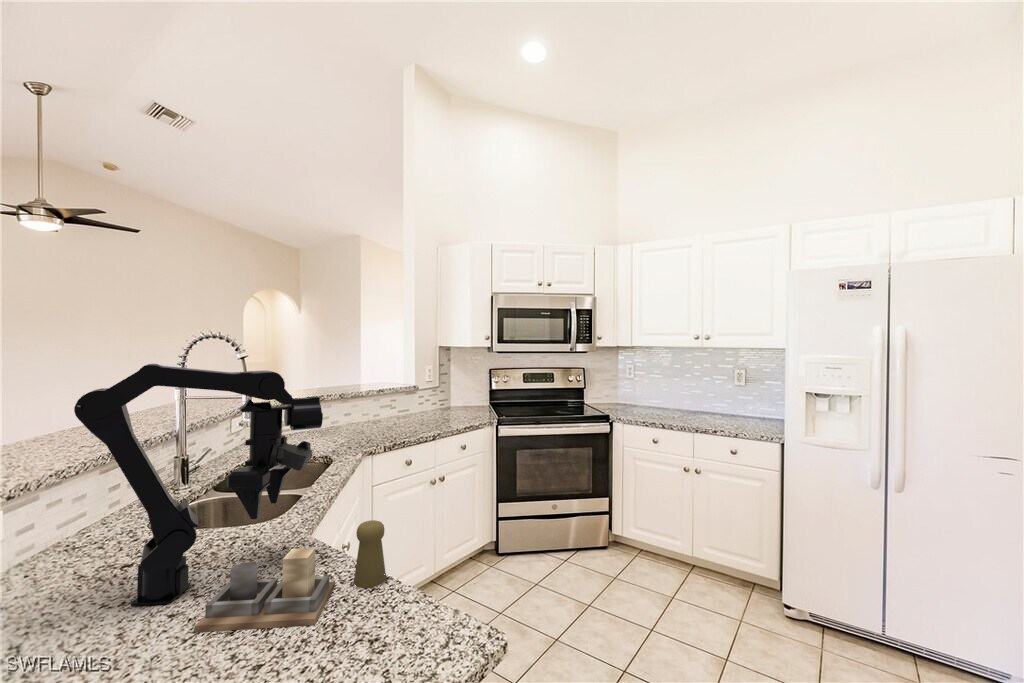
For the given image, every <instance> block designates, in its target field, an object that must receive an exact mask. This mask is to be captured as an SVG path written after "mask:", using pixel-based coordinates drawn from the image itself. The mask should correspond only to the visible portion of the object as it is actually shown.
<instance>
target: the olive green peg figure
mask: <svg viewBox="0 0 1024 683" xmlns="http://www.w3.org/2000/svg"><path fill="white" fill-rule="evenodd" d="M384 536H385V525H384V523H382V521H381V520H367V521H364V522H361V523H360V524H359V525H358V527H357V528H356V539H357V540H358V541H359V542H358V543H359V544H358V551H357V557H356V564H355V571H354V577H353V584H355V585H356V586H355V585H354V586H355V587H357V588H360V589H369V588H374V587H378V586H380V585H382V584H384V582H385V581H386V580H387V574H386V564H385V556H384V549H383V541H382V539H383V538H384ZM382 573H383V574H382ZM384 574H385V575H384Z"/></svg>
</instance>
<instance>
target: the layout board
mask: <svg viewBox="0 0 1024 683" xmlns="http://www.w3.org/2000/svg"><path fill="white" fill-rule="evenodd" d="M229 574H230V576H229V577H230V578H229V581H228V583H227V584H225V586H224V587H223V588H221V590H219V591H218V592H217V594H216V595H214V596H213V598H211V600H210V601H209V602H208V603H207V604H205V611H204V612H205V613H204V616H203V617H202V618H201V619H200V620H199V621H198V622H197V623H196V624H195V625H194V633H207V632H221V631H222V632H223V631H224V632H225V631H239V630H253V629H256V630H257V629H269V628H286V627H288V628H289V627H302V626H303V627H304V626H315V625H316V623H317V621H318V620H319V618H320V616H321V614H322V612H323V610H324V608H325V606H326V605H327V602H328V601H329V599H330V597H331V596H332V593H333V592H332V591H334V590H333V589H335V588H336V581H330V575H324V576H322V575H321V576H315V591H314V593H313V595H312V596H311V597H296V598H282V585H283V579H282V580H281V581H280V582H279V583H278V578H265V579H264V578H263V579H262V578H261V579H259V578H258V563H257V562H252V561H250V562H249V561H247V562H243V563H239V564H236V565H234V566H232V568H230V573H229ZM334 587H335V588H334Z"/></svg>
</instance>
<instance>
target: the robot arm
mask: <svg viewBox="0 0 1024 683" xmlns="http://www.w3.org/2000/svg"><path fill="white" fill-rule="evenodd" d="M285 386H286V382H285V378H283V377H282V375H281V374H279V373H277V372H276V371H275V372H274V371H271V370H249V371H247V370H246V371H237V372H236V371H235V372H232V371H220V370H209V369H198V368H188V367H177V366H170V365H169V366H168V365H161V364H157V363H148V364H145V365H143V366H142V367H141V368H140V369H139V370H137V371H136V372H134V373H132V374H131V375H129V376H127V377H125V378H123V379H122V380H120V381H119V382H117V383H116V384H113V385H112V386H110V387H109V388H108V387H107V388H96V389H93V390H92V391H90V392H87V393H84V394H83V395H82V396H80V397H79V399H77V401H76V403H75V406H74V409H73V411H74V416H76V419H78V421H80V423H82V425H83V426H84V427H85V428H86V429H87V430H88V431H89V432H90V433H91V434H92V435H93V436H95V437H96V438H97V439H98V440H99V441H101V442H102V443H103V444H104V445H105V446H106V447H107V448H108V450H109V452H110V453H111V455H112V458H114V460H115V462H116V464H117V465H118V466H119V468H120V470H121V472H122V473H123V475H124V477H125V478H126V481H127V482H128V484H129V485H130V487H131V488H132V490H133V492H134V493H135V495H136V496H137V498H138V500H139V502H140V504H142V506H143V508H144V510H145V511H146V513H147V517H148V520H149V525H150V530H151V533H152V536H153V537H151V538H150V539H149V540H148V541H147V542H146V543H145V544H144V545H143V548H142V549H143V550H142V554H141V558H140V559H141V560H140V564H138V565H137V589H136V590H137V591H136V597H135V599H132V600H131V601H130V603H129V604H130V606H132V607H135V606H149V605H150V606H153V605H167V604H168V605H169V604H171V603H172V602H174V601H175V600H176V599H177V598H178V597H179V596H181V595H182V594H183V593H185V591H186V590H188V589H189V588H190V587H191V582H189V564H187V555H184V553H186V552H188V551H189V550H191V548H192V547H193V545H195V542H196V540H197V528H198V527H199V521H198V514H196V513H194V512H193V510H192V509H191V507H190V503H189V499H185V500H183V501H182V502H181V503H179V502H178V501H177V500H176V499H174V498H173V497H172V496H171V494H170V493H169V491H168V489H167V487H166V486H165V484H164V483H163V481H162V479H161V477H160V476H159V474H158V472H157V470H156V469H155V466H154V465H153V464H152V462H151V460H150V458H149V457H148V455H147V453H146V452H145V449H144V448H143V446H142V445H141V443H140V441H139V439H138V438H137V436H136V434H135V433H134V429H133V425H132V421H131V418H130V413H129V411H128V407H127V404H128V403H130V402H132V401H133V400H135V399H136V398H138V397H139V396H142V395H143V394H144V393H146V392H147V391H149V390H151V389H152V388H153V387H168V388H169V387H170V388H179V389H180V388H181V389H195V390H205V391H206V390H208V391H221V392H222V391H223V392H230V393H236V394H238V395H243V396H247V397H250V398H255V399H258V400H264V401H262V402H254V401H253V400H252V399H250V398H248V399H247V400H246V401H245V402H244V404H242V405H241V406H240V407H239V408H238V410H239V411H240V412H241V413H250V414H249V415H250V416H249V417H250V418H249V420H250V421H249V424H250V425H249V438H247V439H245V442H244V443H245V444H244V445H245V446H249V457H248V459H247V460H245V461H244V466H241V467H239V468H237V469H236V470H233V471H232V472H230V474H228V475H227V477H226V488H229V489H230V490H231V491H232V492H234V493H235V495H236V496H237V498H238V499H239V501H240V502H241V504H242V505H243V507H244V509H245V511H246V513H247V515H248V516H249V518H250V519H251V520H257V519H258V517H259V513H260V508H261V502H262V497H263V496H262V495H263V491H264V490H265V489H266V492H267V496H268V498H269V502H270V504H277V503H278V500H279V498H280V494H281V490H282V487H283V484H284V480H285V477H286V475H287V474H288V473H289V472H291V471H292V470H294V471H302V470H304V469H305V468H306V467H307V466H308V464H309V461H310V459H311V458H312V457H313V449H312V448H311V442H308V441H306V440H302V441H301V442H300V443H298V444H296V443H294V444H290V443H288V442H287V441H288V438H287V437H286V435H283V421H284V425H285V427H288V426H289V429H290V430H291V431H301V430H313V429H314V430H315V429H321V427H322V426H323V420H324V419H323V417H324V416H323V414H324V413H323V411H322V405H321V400H320V399H321V398H320V397H319V396H317V395H316V396H310V397H298V398H297V397H296V398H295V397H294V398H293V395H292V394H290V393H289V392H288V391H287V389H286V387H285ZM273 400H274V401H276V402H277V403H279V404H281V405H276V406H275V405H273V406H272V404H271V402H270V401H273ZM283 411H284V412H283ZM283 419H284V420H283Z"/></svg>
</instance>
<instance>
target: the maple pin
mask: <svg viewBox="0 0 1024 683" xmlns="http://www.w3.org/2000/svg"><path fill="white" fill-rule="evenodd" d="M315 577H316V547H305V548H291V549H290V550H289V552H288V553H287V554H286V555H285V556H284V557H283V559H282V580H283V585H282V598H296V597H311V596H312V595H313V593H314V591H315Z"/></svg>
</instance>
